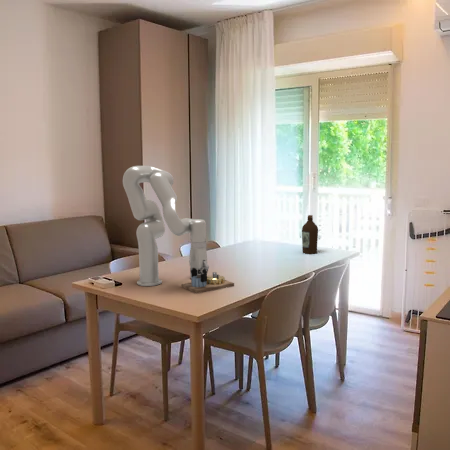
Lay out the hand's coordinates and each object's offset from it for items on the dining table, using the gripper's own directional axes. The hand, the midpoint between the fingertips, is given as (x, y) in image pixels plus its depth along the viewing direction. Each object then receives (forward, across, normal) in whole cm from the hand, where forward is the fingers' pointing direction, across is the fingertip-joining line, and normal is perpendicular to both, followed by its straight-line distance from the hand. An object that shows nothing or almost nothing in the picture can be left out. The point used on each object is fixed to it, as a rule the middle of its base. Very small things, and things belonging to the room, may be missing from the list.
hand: (199, 279), depth 238 cm
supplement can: (+4, -18, +10) cm, 21 cm away
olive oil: (+4, -32, +104) cm, 109 cm away
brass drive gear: (+3, 0, +9) cm, 9 cm away
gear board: (+4, 0, +5) cm, 7 cm away
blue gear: (+3, 0, 0) cm, 3 cm away
